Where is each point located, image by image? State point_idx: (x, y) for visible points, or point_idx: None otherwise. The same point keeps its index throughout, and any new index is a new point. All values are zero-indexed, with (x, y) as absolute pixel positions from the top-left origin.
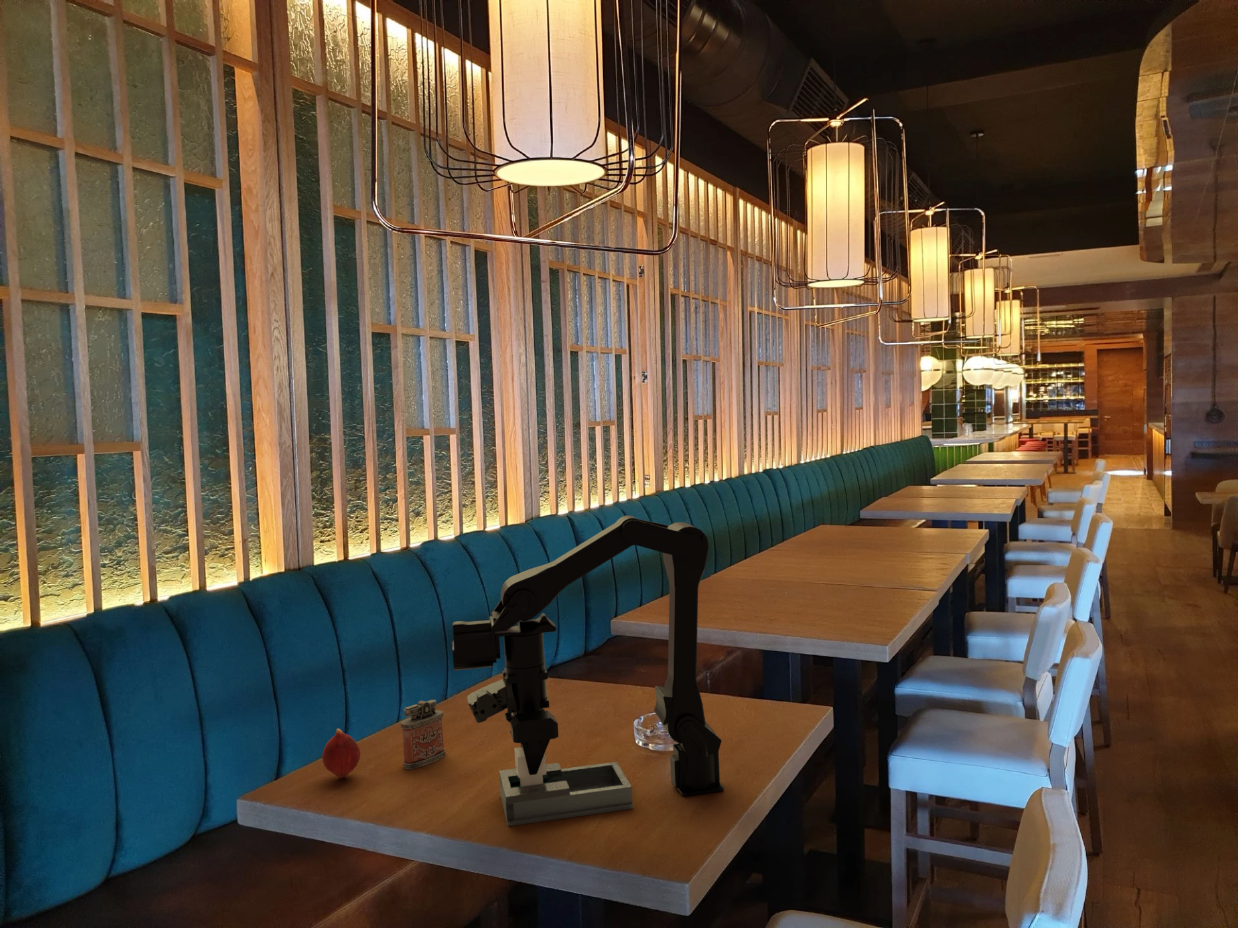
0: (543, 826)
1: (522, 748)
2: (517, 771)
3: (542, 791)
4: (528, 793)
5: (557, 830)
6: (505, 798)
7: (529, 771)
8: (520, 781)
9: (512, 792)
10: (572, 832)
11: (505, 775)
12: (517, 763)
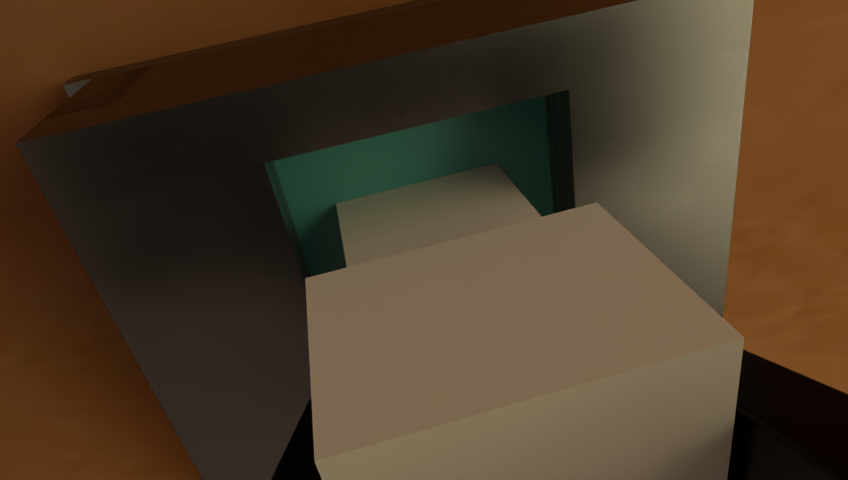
0: (101, 308)
1: (673, 438)
2: (401, 273)
3: (186, 426)
4: (131, 337)
5: (53, 387)
6: (81, 118)
7: (298, 426)
8: (487, 202)
9: (145, 195)
10: (38, 456)
11: (601, 60)
12: (355, 366)
